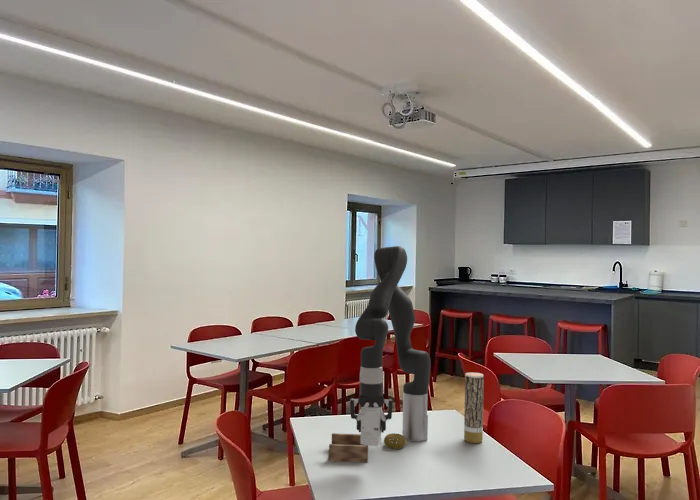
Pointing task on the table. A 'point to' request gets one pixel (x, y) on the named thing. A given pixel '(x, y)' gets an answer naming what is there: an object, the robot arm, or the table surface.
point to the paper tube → (473, 407)
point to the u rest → (347, 448)
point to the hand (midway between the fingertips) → (371, 431)
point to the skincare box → (371, 427)
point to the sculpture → (400, 441)
